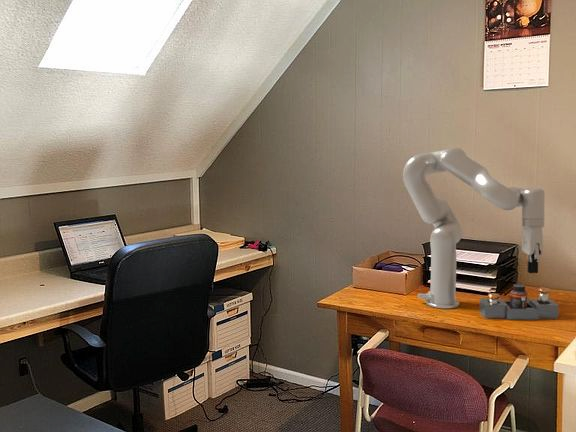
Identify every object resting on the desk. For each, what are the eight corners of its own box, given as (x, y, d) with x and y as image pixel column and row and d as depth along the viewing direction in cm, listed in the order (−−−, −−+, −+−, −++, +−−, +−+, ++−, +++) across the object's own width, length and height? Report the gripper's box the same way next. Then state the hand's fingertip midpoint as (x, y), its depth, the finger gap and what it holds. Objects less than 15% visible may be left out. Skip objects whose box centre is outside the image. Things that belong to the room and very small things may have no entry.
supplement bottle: (527, 318, 225) (529, 287, 223) (510, 317, 226) (511, 287, 224) (524, 313, 231) (526, 283, 229) (508, 312, 232) (509, 282, 230)
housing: (485, 319, 224) (486, 306, 223) (478, 310, 235) (478, 297, 234) (559, 320, 222) (560, 306, 221) (548, 310, 233) (549, 298, 232)
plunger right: (539, 307, 226) (540, 290, 225) (535, 304, 229) (536, 287, 228) (550, 307, 225) (551, 290, 224) (546, 304, 229) (547, 287, 228)
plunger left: (488, 313, 227) (489, 296, 226) (486, 310, 231) (486, 293, 230) (500, 313, 227) (500, 296, 226) (497, 310, 231) (497, 293, 230)
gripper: (516, 220, 230) (516, 268, 233) (528, 226, 216) (528, 277, 218) (537, 219, 230) (536, 267, 232) (550, 225, 215) (550, 277, 218)
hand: (532, 272), depth 225 cm, fingers closed
